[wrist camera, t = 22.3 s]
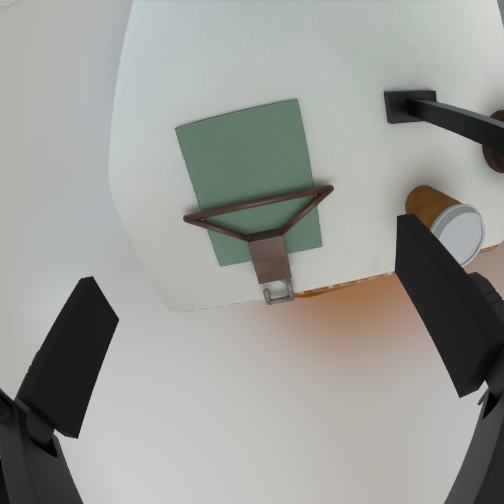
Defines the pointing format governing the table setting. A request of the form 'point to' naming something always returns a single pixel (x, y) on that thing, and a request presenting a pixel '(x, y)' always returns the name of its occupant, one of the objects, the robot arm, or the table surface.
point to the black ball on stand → (492, 157)
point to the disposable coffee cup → (449, 222)
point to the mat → (251, 175)
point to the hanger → (266, 237)
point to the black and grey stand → (446, 114)
